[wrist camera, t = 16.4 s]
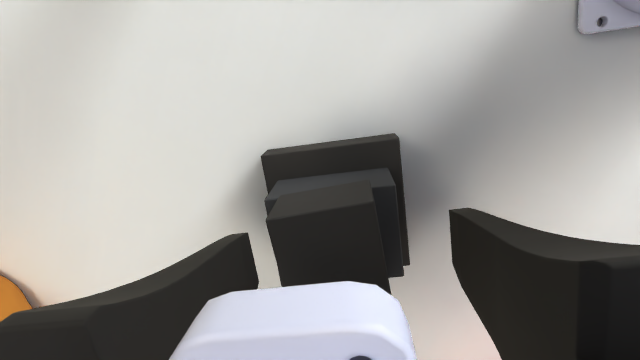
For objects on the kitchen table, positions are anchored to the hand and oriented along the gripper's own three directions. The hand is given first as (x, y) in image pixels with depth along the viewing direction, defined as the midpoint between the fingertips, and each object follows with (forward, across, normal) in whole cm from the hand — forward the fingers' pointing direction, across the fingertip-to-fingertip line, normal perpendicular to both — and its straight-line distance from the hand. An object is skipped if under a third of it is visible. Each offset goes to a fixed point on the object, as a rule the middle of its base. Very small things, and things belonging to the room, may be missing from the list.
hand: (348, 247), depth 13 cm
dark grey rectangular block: (+5, +1, +2) cm, 5 cm away
